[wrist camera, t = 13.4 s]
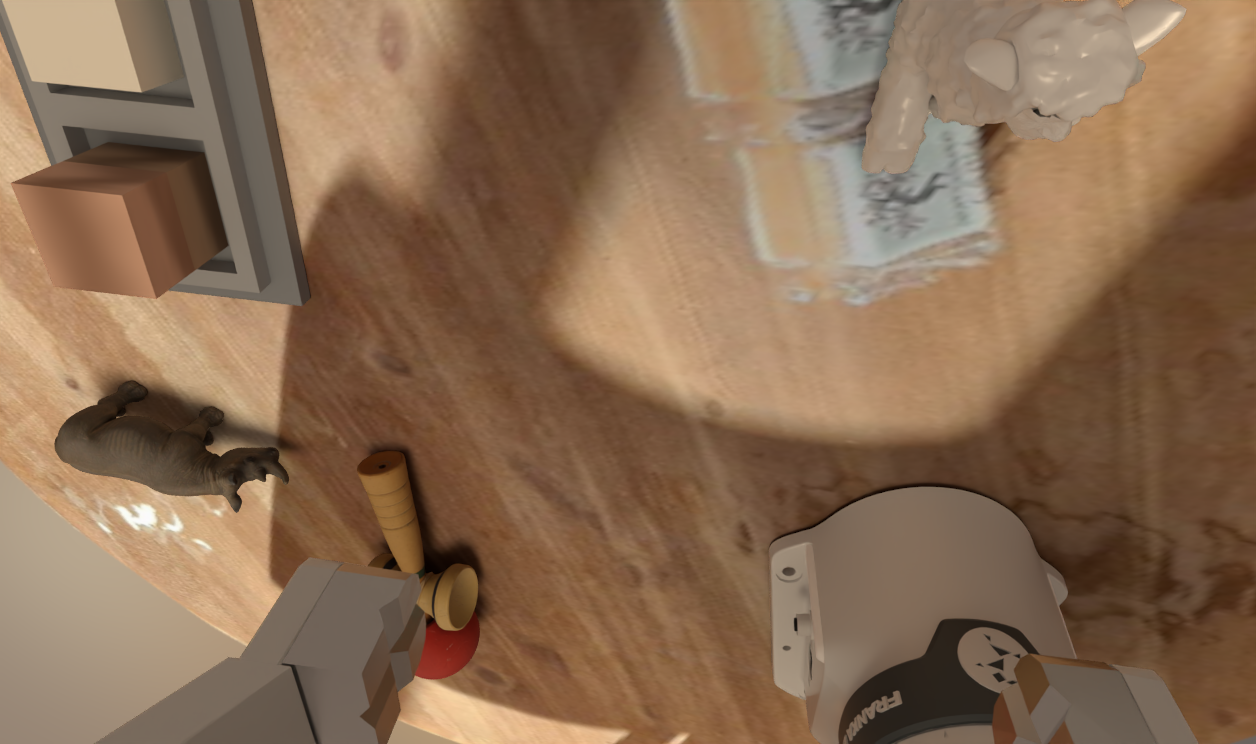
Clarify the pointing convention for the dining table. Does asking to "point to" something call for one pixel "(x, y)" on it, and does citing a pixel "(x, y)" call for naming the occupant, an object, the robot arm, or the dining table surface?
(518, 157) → the dining table surface
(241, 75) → the base plate
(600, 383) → the dining table surface
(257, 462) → the rhino figurine
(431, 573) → the kendama
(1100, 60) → the sitting furry creature
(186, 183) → the brown block
